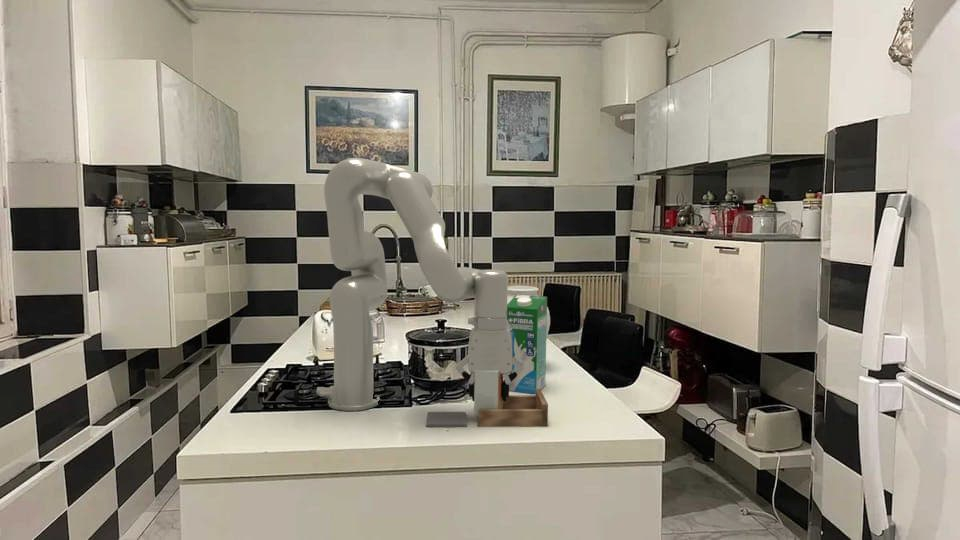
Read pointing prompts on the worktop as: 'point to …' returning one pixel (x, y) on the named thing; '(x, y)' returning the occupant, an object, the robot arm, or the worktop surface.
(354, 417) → the worktop surface
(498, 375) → the small box
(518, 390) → the milk carton
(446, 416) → the pad
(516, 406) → the holder
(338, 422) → the worktop surface
